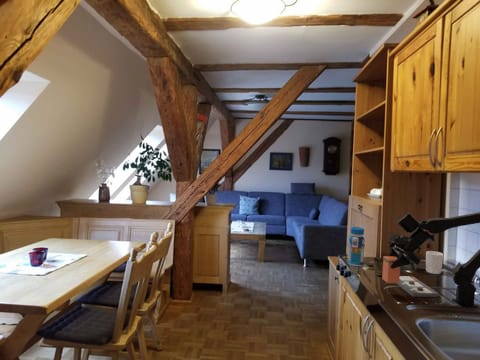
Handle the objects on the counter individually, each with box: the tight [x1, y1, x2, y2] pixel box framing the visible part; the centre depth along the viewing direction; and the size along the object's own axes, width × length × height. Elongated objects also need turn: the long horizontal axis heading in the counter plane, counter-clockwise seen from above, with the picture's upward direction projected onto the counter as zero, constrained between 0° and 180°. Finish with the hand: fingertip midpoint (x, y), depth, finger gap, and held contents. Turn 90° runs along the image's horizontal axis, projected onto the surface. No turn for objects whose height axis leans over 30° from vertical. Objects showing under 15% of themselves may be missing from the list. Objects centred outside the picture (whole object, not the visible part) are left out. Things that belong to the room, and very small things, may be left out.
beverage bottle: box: [347, 226, 366, 267], centre depth 182 cm, size 8×8×20 cm
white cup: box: [425, 250, 444, 275], centre depth 173 cm, size 8×8×10 cm
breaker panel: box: [395, 275, 440, 298], centre depth 151 cm, size 20×11×2 cm, turn 1°
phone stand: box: [400, 261, 417, 273], centre depth 177 cm, size 9×6×12 cm, turn 62°
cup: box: [372, 257, 383, 277], centre depth 166 cm, size 8×7×8 cm
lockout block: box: [381, 255, 401, 284], centre depth 142 cm, size 5×5×10 cm
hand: (388, 265), depth 142 cm, fingers closed on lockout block, 5 cm apart
